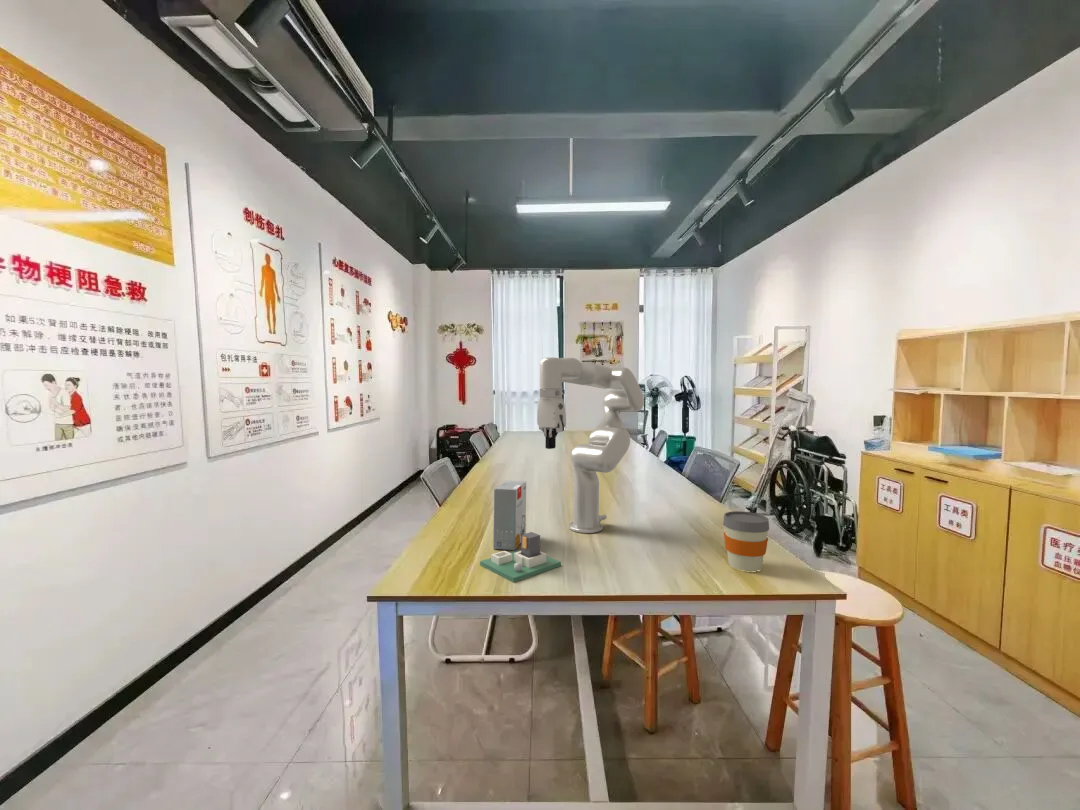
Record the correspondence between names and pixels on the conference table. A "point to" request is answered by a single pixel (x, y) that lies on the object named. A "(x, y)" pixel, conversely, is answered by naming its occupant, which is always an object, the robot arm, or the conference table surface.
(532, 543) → the plug
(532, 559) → the frame
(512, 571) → the board
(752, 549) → the reusable coffee cup
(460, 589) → the conference table surface
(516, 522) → the hard drive box
